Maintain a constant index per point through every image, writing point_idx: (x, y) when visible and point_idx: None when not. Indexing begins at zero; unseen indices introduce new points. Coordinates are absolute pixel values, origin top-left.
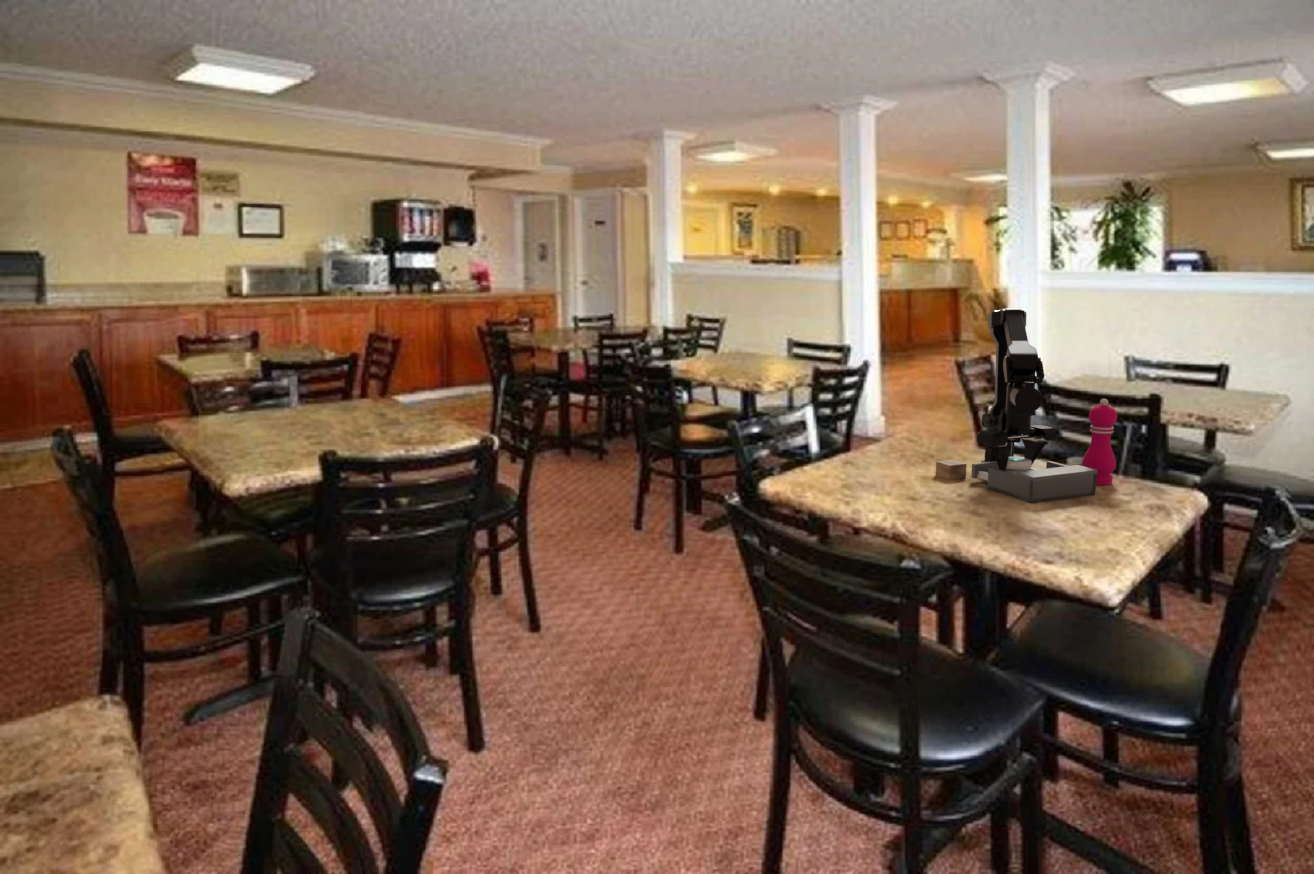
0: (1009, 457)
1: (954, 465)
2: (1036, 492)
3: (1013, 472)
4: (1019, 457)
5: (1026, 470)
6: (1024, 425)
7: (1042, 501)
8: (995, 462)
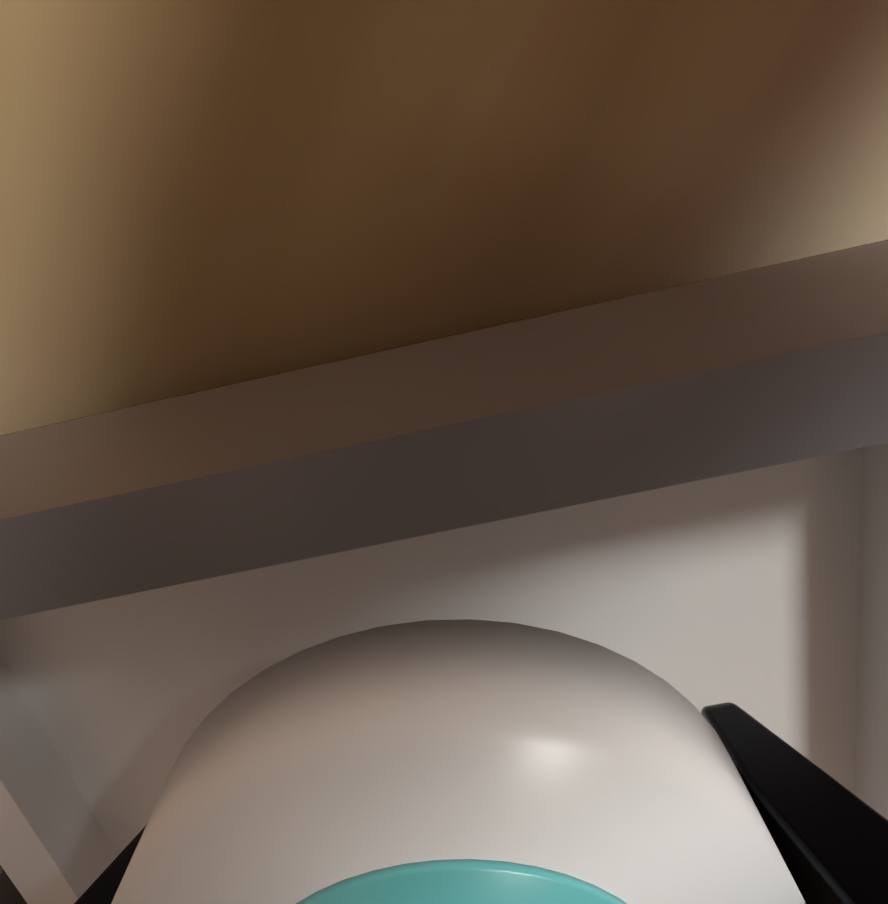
0: (450, 830)
1: None
2: None
3: (582, 506)
4: (714, 864)
5: (870, 476)
6: None
7: None
8: (171, 578)
